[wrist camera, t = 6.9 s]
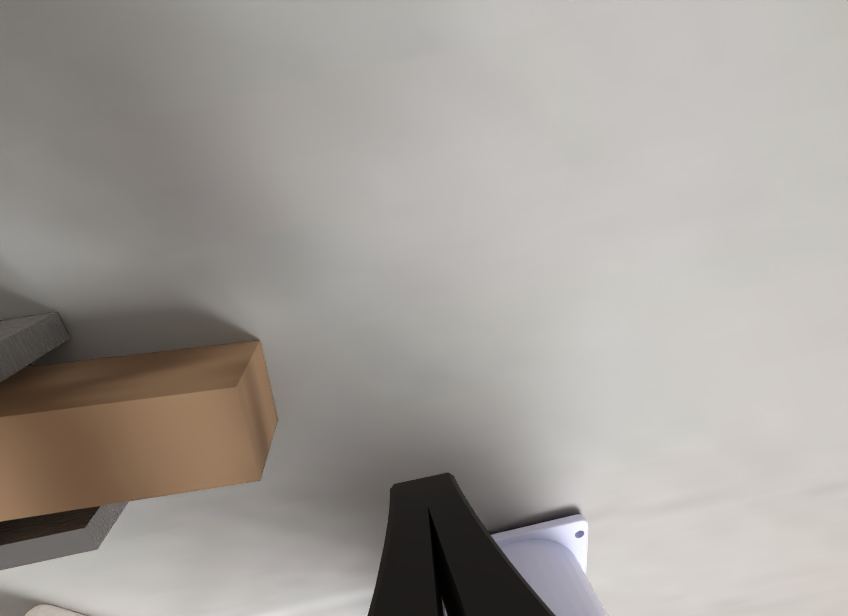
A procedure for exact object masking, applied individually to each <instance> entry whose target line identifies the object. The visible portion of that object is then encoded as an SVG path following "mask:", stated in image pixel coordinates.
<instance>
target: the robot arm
mask: <svg viewBox="0 0 848 616" xmlns="http://www.w3.org/2000/svg"><path fill="white" fill-rule="evenodd" d="M587 544H588V521H587V520H586V518H585V517H584V516H583V515H580V514H577V515H572V516H568V517H564V518H560V519H555V520H551V521H547V522H543V523H538V524H534V525H530V526H526V527H521V528H517V529H513V530H509V531H504V532H500V533H496V534H492V535H490V534H489V532H488V531H487V530H486V528H485V527H484V525H483V524H482V522H481V521H480V520H479V518H478V516H477V515H476V513H475V512H474V510H473V509H472V507H471V506H470V504H469V503H468V501H467V499H466V498H465V496H464V494H463V493H462V491H461V489H460V487H459V486H458V484H457V482H456V480H455V478H454V476H453V475H451V474H450V473H444V474H439V475H435V476H430V477H425V478H421V479H416V480H411V481H407V482H402V483H397V484H394V485H393V486H392V488H391V489H390V507H389V517H388V524H387V531H386V537H385V543H384V548H383V553H382V558H381V562H380V567H379V572H378V577H377V581H376V586H375V590H374V594H373V598H372V601H371V605H370V609H369V612H368V616H444V614H443V605H442V600H443V603H444V608H445V614H446V616H608V614H607V612H606V610H605V609H604V607H603V605H602V603H601V601H600V600H599V598H598V596H597V594H596V592H595V591H594V589H593V587H592V585H591V583H590V582H589V580H588V578H587V576H586V565H587ZM441 596H442V597H441Z"/></svg>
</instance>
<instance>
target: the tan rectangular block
mask: <svg viewBox="0 0 848 616" xmlns="http://www.w3.org/2000/svg"><path fill="white" fill-rule="evenodd" d="M277 421H278V417H277V413H276V408H275V404H274V399H273V395H272V390H271V386H270V381H269V377H268V372H267V368H266V363H265V359H264V354H263V350H262V345H261V341H260V340H258V341H249V342H240V343H232V344H223V345H214V346H205V347H197V348H188V349H179V350H170V351H162V352H153V353H144V354H135V355H127V356H118V357H109V358H100V359H92V360H83V361H74V362H65V363H57V364H48V365H39V366H31V367H24V368H22V369H21V370H19V371H18V372H16V373H15V374H13V375H11V376H10V377H8V378H7V379H5V380H3V381H2V382H0V522H1V521H7V520H13V519H20V518H26V517H32V516H39V515H45V514H51V513H58V512H64V511H70V510H77V509H83V508H89V507H96V506H102V505H108V504H115V503H121V502H127V501H134V500H140V499H146V498H153V497H159V496H165V495H172V494H178V493H184V492H191V491H197V490H203V489H210V488H216V487H222V486H229V485H235V484H241V483H248V482H254V481H260V479H261V476H262V472H263V469H264V466H265V462H266V459H267V455H268V452H269V449H270V445H271V442H272V438H273V435H274V432H275V428H276V425H277Z"/></svg>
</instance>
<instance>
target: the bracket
mask: <svg viewBox="0 0 848 616" xmlns="http://www.w3.org/2000/svg"><path fill="white" fill-rule="evenodd" d="M68 339H70V337H69V335H68V333H67V331H66V329H65V327H64V325H63V323H62V321H61V319H60V317H59V315H58V313H57V312H53V313H47V314H40V315H34V316H28V317H21V318H15V319H8V320H2V321H0V382H2V381H3V380H5V379H7V378H8V377H10V376H11V375H13V374H15V373H16V372H18V371H19V370H21V369H22V368H24V367H26V366H27V365H29V364H30V363H32V362H33V361H35V360H37V359H38V358H40V357H41V356H43V355H45V354H46V353H48V352H49V351H51V350H52V349H54V348H56V347H57V346H59V345H60V344H62V343H63V342H65V341H67V340H68ZM128 502H129V501H127V502H121V503H115V504H108V505H102V506H96V507H89V508H83V509H77V510H70V511H64V512H58V513H51V514H45V515H39V516H32V517H26V518H20V519H13V520H7V521H1V522H0V570H4V569H8V568H13V567H18V566H22V565H27V564H32V563H36V562H41V561H45V560H50V559H55V558H59V557H64V556H69V555H73V554H78V553H82V552H87V551H92V550H96V549H98V548H99V546H100V544H101V543H102V541H103V540H104V538H105V537H106V535H107V534H108V532H109V531H110V529H111V528H112V526H113V525H114V523H115V522H116V520H117V519H118V517H119V516H120V514H121V513H122V511H123V509H124V508H125V506H126V505H127V503H128Z"/></svg>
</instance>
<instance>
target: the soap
mask: <svg viewBox="0 0 848 616" xmlns="http://www.w3.org/2000/svg"><path fill="white" fill-rule="evenodd" d="M25 616H85V615H82V614H79V613H75V612H72V611H69V610H66V609H63V608H59V607H56V606H52V605H47V604H41V605H37V606H35V607H33V608H32V609H31V610H30V611H28V612H27V613H26V614H25Z"/></svg>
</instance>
